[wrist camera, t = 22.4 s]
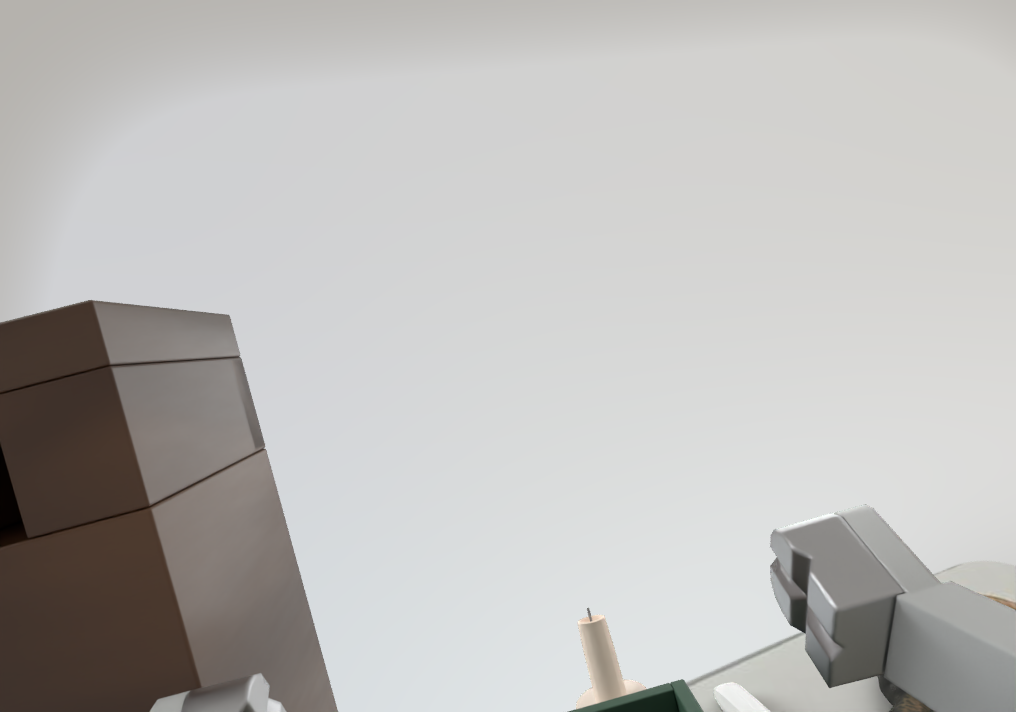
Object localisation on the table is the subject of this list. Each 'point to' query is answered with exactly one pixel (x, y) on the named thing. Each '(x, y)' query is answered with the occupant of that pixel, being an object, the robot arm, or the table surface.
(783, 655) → the table surface
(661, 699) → the bin
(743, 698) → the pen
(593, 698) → the candle
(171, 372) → the stand
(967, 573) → the table surface
